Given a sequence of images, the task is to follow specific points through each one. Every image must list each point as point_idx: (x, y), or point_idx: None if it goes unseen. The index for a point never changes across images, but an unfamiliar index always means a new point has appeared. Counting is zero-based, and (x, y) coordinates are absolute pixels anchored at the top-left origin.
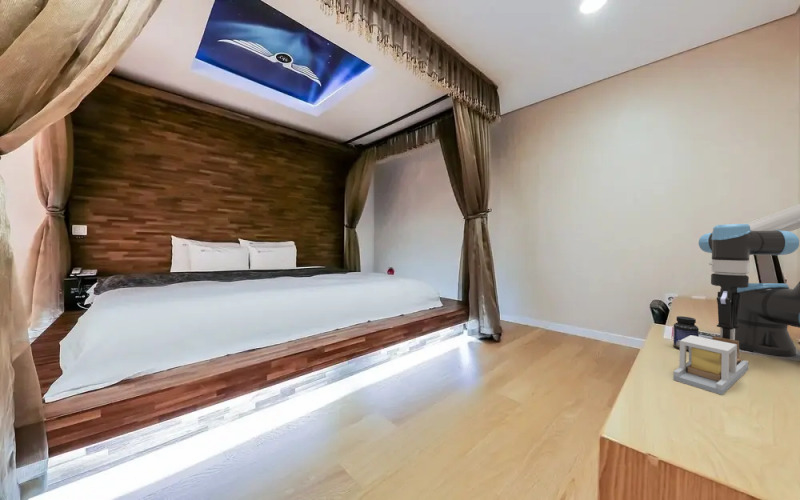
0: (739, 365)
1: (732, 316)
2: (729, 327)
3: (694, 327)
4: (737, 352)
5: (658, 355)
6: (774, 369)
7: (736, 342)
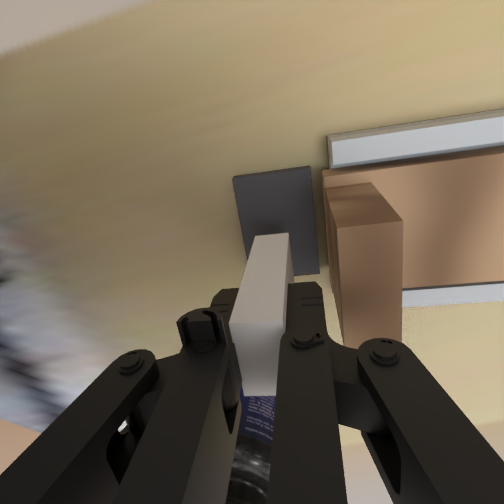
0: (493, 133)
1: (333, 480)
2: (405, 350)
3: (248, 465)
4: (373, 194)
5: (487, 390)
6: (181, 74)
7: (399, 225)
